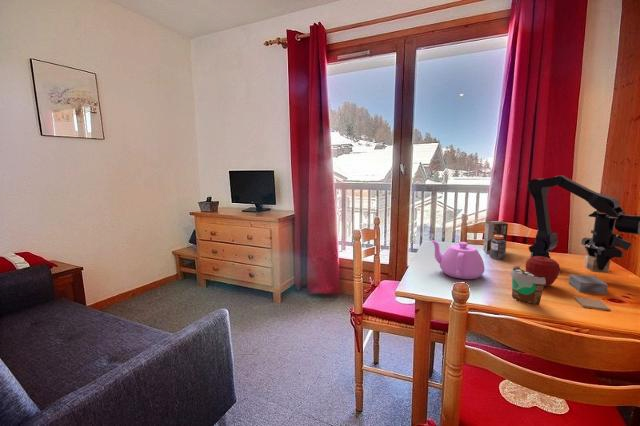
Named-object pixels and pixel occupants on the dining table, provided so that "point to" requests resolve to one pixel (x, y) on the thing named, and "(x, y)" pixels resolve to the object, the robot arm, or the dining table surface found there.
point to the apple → (543, 268)
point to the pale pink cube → (585, 261)
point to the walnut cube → (594, 267)
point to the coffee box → (494, 233)
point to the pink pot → (460, 261)
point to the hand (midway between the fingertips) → (597, 267)
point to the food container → (526, 286)
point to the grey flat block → (588, 284)
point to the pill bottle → (497, 247)
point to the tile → (591, 303)
